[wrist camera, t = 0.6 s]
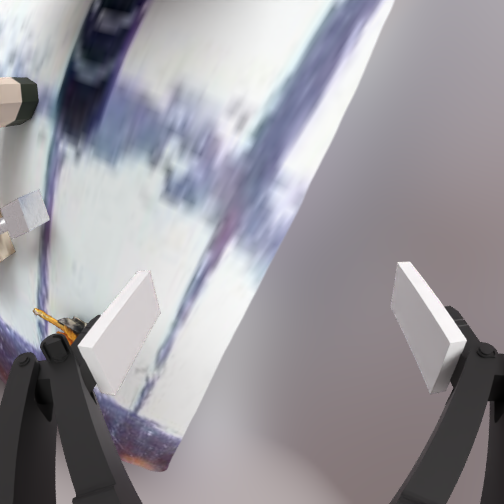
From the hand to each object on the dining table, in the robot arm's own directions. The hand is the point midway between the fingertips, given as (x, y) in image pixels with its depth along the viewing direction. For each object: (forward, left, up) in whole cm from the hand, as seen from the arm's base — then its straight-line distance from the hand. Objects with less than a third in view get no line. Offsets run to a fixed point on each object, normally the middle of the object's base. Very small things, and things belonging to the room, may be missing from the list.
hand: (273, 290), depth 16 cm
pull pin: (-8, -46, -22) cm, 51 cm away
